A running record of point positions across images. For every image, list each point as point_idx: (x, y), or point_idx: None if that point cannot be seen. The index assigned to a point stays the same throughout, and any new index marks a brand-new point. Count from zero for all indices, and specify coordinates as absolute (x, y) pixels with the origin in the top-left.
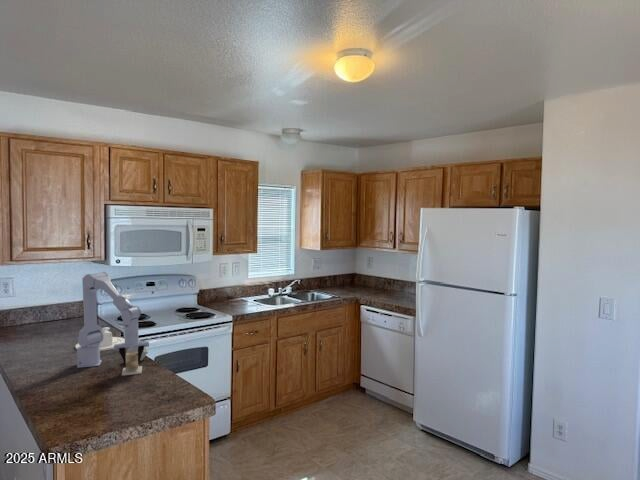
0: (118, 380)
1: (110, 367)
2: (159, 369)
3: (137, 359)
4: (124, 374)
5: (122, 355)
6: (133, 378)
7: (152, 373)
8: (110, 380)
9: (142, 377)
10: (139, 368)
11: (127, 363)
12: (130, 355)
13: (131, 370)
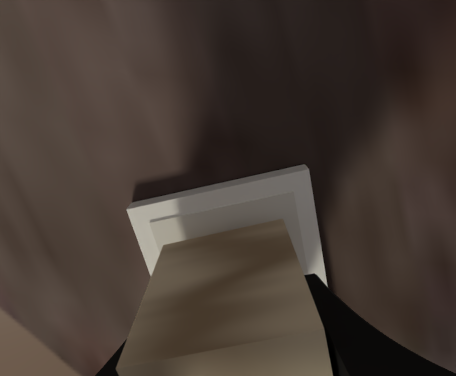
0: (302, 15)
1: (446, 364)
2: (9, 288)
3: (140, 311)
4: (281, 172)
5: (391, 353)
6: (158, 66)
7: (23, 195)
8: (389, 25)
9: (73, 88)
10: None
11: (273, 258)
12: (245, 367)
13: None
